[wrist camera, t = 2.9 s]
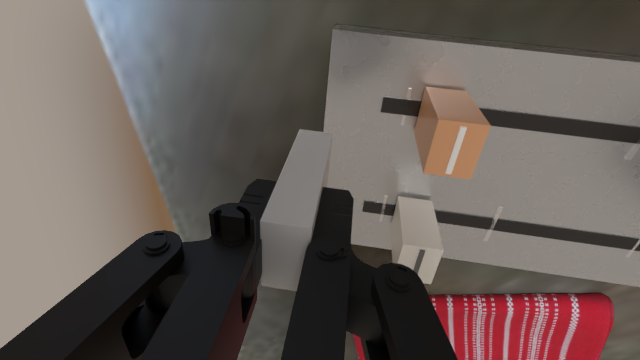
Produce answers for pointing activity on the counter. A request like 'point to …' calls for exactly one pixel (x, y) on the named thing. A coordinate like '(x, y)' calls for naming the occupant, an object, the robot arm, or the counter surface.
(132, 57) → the counter surface
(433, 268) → the fader cream
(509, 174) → the console
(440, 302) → the dish towel
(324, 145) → the robot arm
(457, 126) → the fader terracotta
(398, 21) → the counter surface
